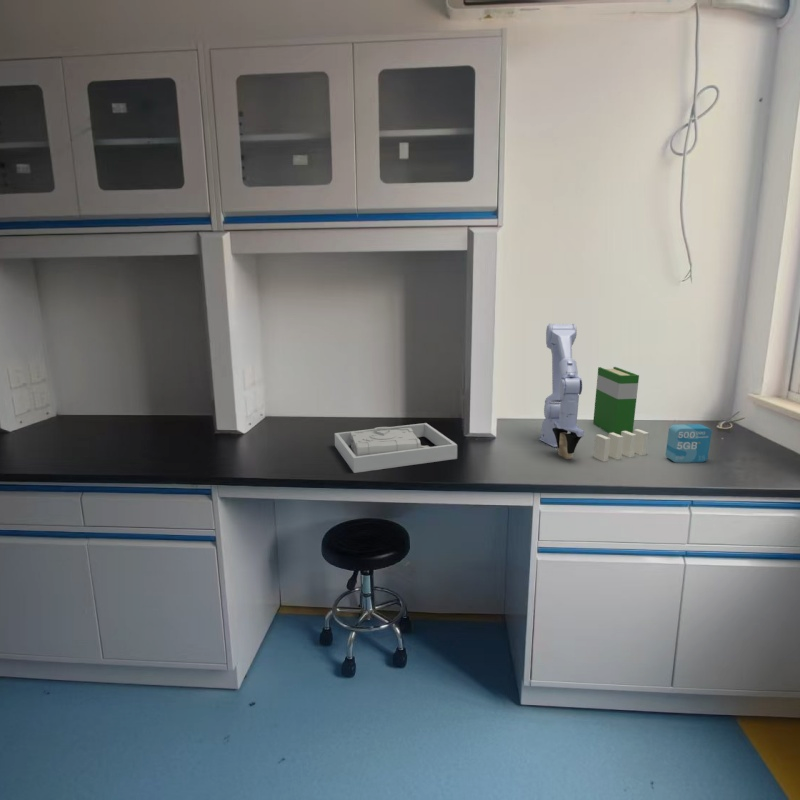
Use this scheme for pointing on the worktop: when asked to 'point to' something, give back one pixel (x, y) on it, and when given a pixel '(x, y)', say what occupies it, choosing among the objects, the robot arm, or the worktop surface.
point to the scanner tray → (440, 452)
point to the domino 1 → (563, 447)
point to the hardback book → (615, 400)
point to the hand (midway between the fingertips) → (565, 450)
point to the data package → (688, 443)
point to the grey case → (384, 441)
